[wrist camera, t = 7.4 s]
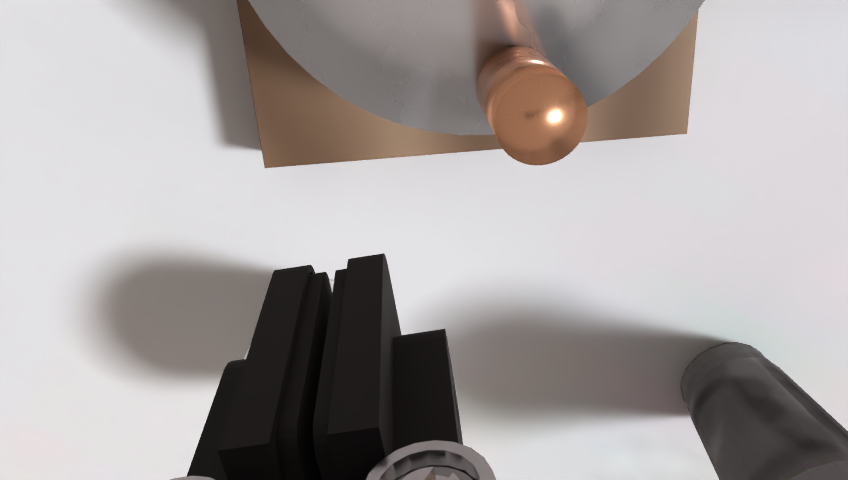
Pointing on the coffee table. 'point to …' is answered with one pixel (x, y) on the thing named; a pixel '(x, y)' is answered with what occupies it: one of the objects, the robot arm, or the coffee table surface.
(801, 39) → the coffee table surface
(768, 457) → the beverage cup
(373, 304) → the robot arm
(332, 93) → the wheel base
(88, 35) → the coffee table surface
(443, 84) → the handwheel
